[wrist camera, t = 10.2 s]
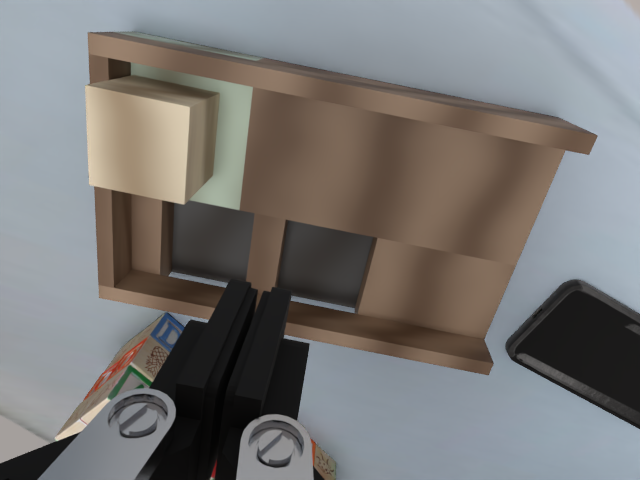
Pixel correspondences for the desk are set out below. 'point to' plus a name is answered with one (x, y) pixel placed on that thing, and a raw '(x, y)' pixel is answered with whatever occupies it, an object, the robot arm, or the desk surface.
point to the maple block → (150, 137)
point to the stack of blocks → (149, 382)
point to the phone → (585, 348)
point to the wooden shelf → (335, 202)
